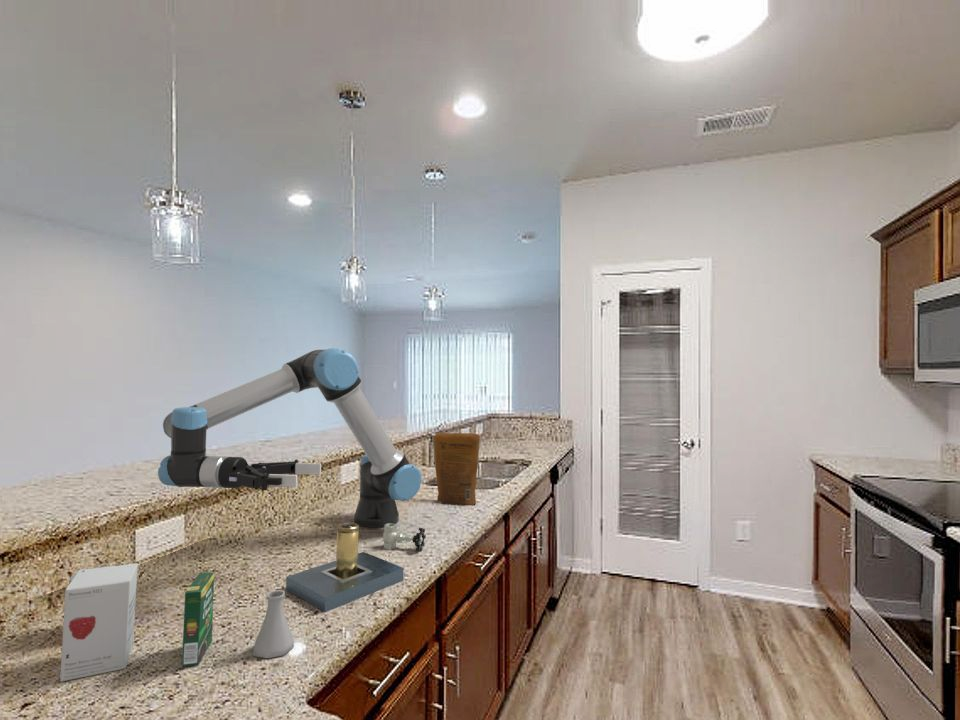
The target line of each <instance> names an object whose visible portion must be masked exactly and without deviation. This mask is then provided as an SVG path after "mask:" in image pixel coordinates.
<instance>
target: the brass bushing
mask: <svg viewBox="0 0 960 720" xmlns="http://www.w3.org/2000/svg"><path fill="white" fill-rule="evenodd" d="M359 531H360V526H359V524H357V523H354V522H344V523H339V524H337V526H336V548H335V549H336V550H335V551H336V555H335V556H336V558H335V561H336V576H337V577H339V578H341V579H346V578H349V577H351V576H354V575H357V563H358V553H359Z"/></svg>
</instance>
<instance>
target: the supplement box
mask: <svg viewBox="0 0 960 720" xmlns="http://www.w3.org/2000/svg"><path fill="white" fill-rule="evenodd" d="M107 566H108V567H102V566H101V567H102V568H95V567H93V568H94V569H91V568H88V569H87V568H86V569H79V570H78V571H77V572H76V573H77V574H76V573H75V574H76V575H75V577H74V578H73V580H72V581H71V583H70V584H69V583H68V585H67V587H66V588H65V591H64V592H65V593H64V607H63V608H64V609H63V626H62V628H63V629H62V643H61V644H62V645H61V658H60V659H61V661H60V676H59V677H60V678H59V679H60V680H59V681H60V683H62V682H65V681H70V680H75V679H81V678H85V677H92V676H96V675H101V674H105V673H111V672H116V671H121V670H125V669H126V668H127V665H128V663H129V658H130V655H131V652H132V648H133V646H134V637H135V635H134V634H135V619H136V618H135V617H136V601H137V600H136V598H137V582H138V580H137V579H138V568H139V563H136V562H135V563H128V564H119V565H107Z"/></svg>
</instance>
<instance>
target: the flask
mask: <svg viewBox="0 0 960 720" xmlns="http://www.w3.org/2000/svg"><path fill="white" fill-rule="evenodd" d="M285 594H286V593H285V590H280V589H276V590H275V589H274V590H271V591H269V592H267V593H266V600H267V609H266V613H265V616H264V619H263V621H262V625H261V628H260V630H259V632H258V635H257V636H256V640H255V642H254V645H253V652H252V656H253V657H257V658H263V659H271V658H276V657H280V656H281V657H283V656H285V655H286V654H288V653H289V652H290V651H291V650H292V649H293V648H294V647H295V643H294V642H295V641H294V638H293V637H294V636H293V635H292V632H291V629H290V626H289V624H288V619H287V617H286V614H285V610H284V603H283V602H284V597H285Z"/></svg>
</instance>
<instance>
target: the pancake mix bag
mask: <svg viewBox="0 0 960 720" xmlns="http://www.w3.org/2000/svg"><path fill="white" fill-rule="evenodd" d="M481 437H482V436H481V435H480V434H478V433H467V432H466V433H465V432H453V433H452V432H451V433H448V432H435V435H434V434H433V435H432V445H433V461H434V469H435V470H434V471H435V475H436V476H435V478H436V486H437V492H438V494H437V499H436V500H437V502H438V503H440V502H441V504H445V503H447V504H449V505H456V504H457V505H458V506H465V505H471V506H475V505H474V504H476V505H477V500H476V498H477V497H476V486H477V474H478V470H479V469H478V468H479V467H478V466H479V459H480V458H479V457H480V449H481V448H480V446H481Z"/></svg>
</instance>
